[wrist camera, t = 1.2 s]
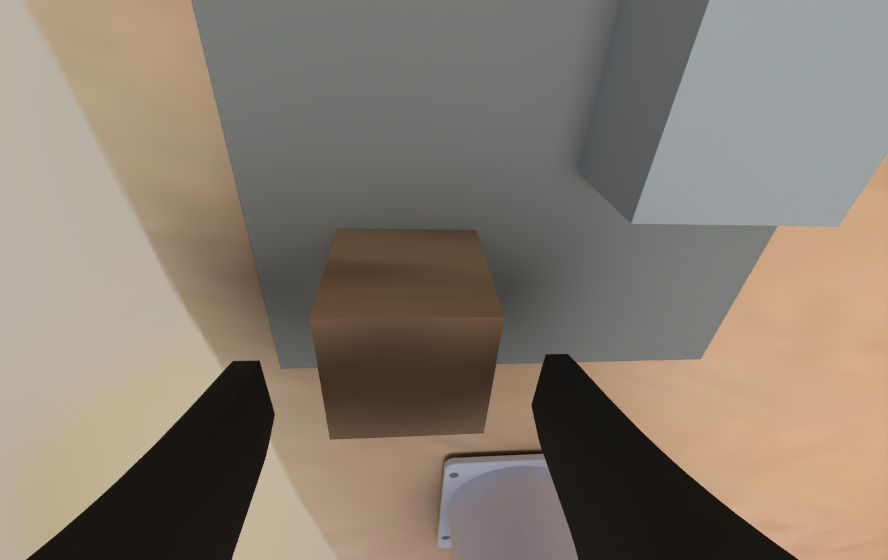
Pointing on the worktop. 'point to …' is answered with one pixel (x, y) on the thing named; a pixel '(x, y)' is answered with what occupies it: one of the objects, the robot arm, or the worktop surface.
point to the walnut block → (406, 333)
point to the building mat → (456, 167)
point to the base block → (740, 111)
